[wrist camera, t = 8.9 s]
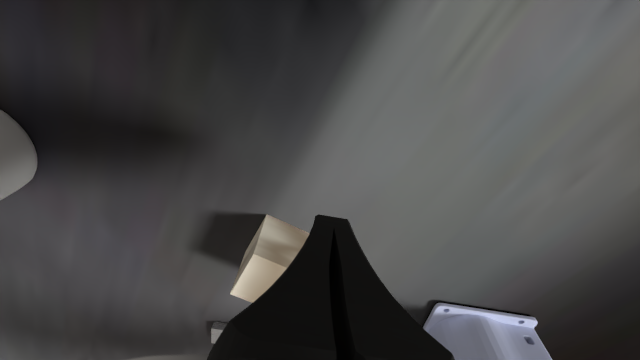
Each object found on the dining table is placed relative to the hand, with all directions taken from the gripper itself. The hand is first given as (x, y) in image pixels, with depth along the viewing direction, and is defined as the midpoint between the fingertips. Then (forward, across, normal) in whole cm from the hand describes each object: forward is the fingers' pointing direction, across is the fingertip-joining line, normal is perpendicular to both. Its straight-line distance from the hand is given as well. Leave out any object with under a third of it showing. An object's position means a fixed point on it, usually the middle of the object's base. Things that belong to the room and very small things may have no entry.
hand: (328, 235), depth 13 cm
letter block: (+10, +2, +10) cm, 14 cm away
